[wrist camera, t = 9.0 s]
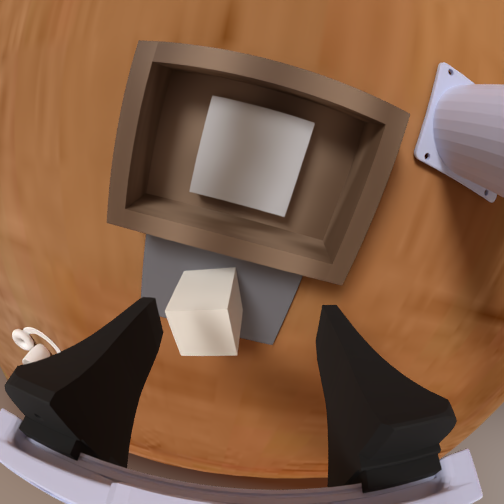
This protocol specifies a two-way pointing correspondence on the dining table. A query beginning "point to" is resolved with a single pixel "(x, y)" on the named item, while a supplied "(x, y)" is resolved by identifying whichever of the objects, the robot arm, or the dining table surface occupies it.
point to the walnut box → (250, 158)
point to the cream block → (206, 312)
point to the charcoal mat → (192, 258)
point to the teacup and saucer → (32, 344)
